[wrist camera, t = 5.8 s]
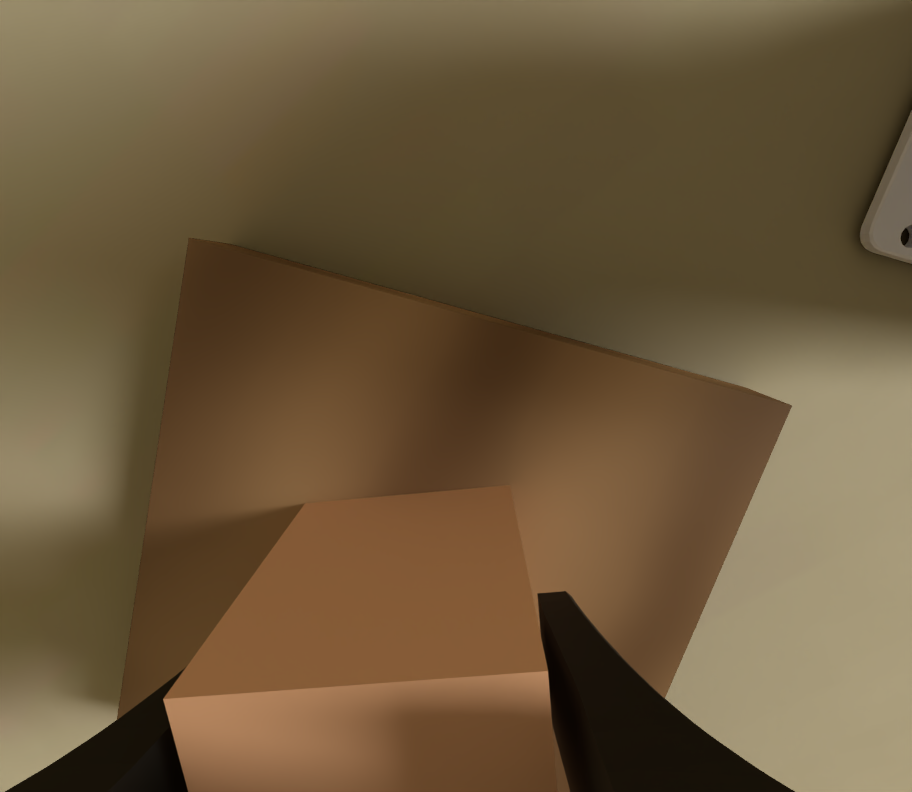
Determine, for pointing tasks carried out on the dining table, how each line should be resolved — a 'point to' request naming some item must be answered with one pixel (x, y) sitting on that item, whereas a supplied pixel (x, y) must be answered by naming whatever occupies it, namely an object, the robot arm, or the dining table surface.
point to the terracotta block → (376, 658)
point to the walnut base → (432, 452)
